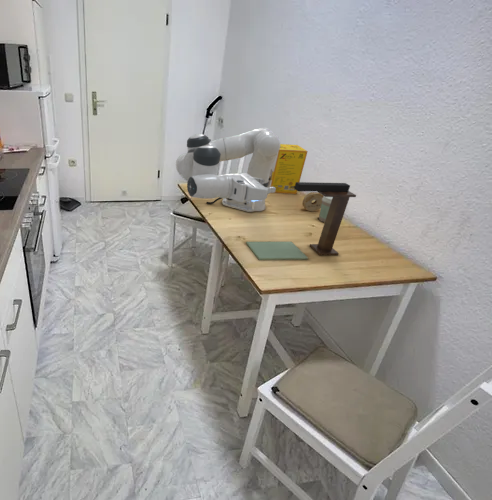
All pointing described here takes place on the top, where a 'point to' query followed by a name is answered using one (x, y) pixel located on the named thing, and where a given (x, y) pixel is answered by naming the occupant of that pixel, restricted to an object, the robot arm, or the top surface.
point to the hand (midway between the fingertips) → (269, 185)
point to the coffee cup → (325, 208)
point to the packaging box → (287, 168)
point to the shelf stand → (332, 222)
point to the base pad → (276, 251)
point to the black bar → (322, 187)
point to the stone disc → (315, 205)
